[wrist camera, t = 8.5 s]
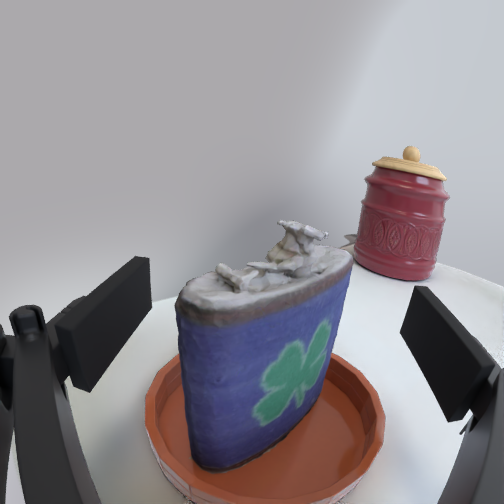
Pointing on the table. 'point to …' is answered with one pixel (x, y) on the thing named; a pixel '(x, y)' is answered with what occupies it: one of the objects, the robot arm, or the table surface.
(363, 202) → the kitchen canister
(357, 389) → the terracotta plant saucer
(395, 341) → the table surface
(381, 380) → the table surface
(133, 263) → the robot arm
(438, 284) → the table surface
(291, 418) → the flask
